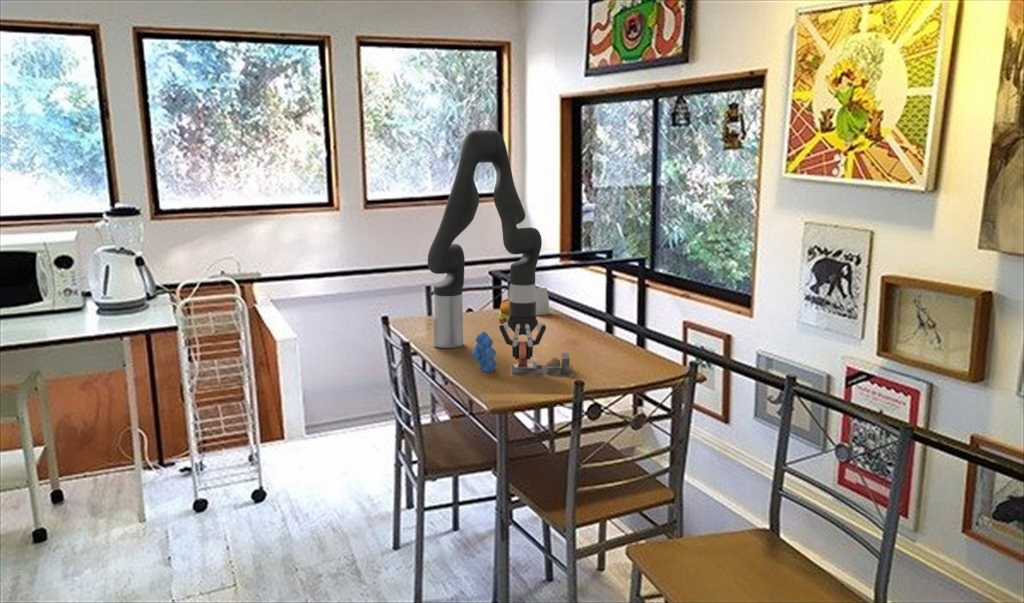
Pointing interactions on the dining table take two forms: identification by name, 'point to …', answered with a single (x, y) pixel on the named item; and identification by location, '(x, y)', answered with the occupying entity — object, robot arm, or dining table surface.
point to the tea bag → (542, 301)
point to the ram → (524, 357)
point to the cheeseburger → (504, 311)
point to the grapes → (484, 352)
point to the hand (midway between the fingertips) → (522, 358)
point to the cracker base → (547, 370)
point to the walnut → (553, 362)
